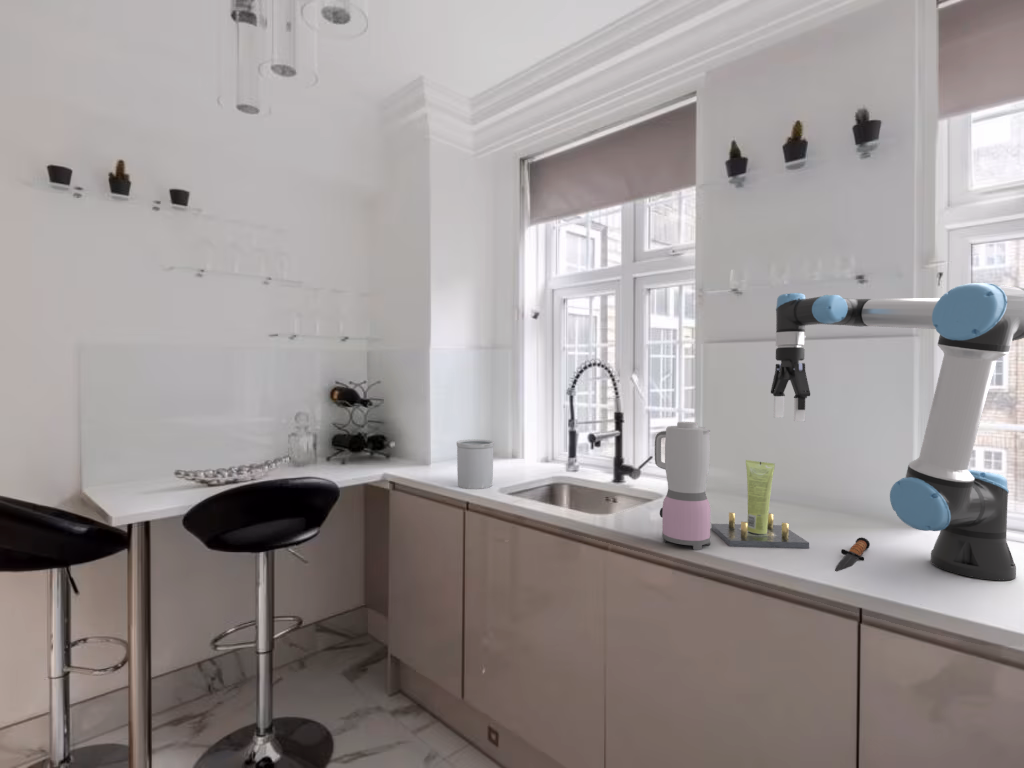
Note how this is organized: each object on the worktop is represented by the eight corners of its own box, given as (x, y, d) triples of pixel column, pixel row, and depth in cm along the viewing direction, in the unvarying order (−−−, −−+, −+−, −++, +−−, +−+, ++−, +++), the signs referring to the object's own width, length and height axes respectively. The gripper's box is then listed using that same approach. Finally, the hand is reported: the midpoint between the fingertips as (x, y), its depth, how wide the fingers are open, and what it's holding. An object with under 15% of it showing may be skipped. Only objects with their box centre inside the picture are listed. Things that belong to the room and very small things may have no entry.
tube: (763, 529, 151) (765, 459, 151) (773, 535, 146) (775, 462, 146) (743, 529, 151) (745, 459, 150) (752, 534, 146) (754, 462, 145)
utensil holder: (492, 489, 207) (493, 444, 207) (454, 489, 208) (454, 443, 207) (494, 482, 222) (495, 439, 222) (458, 481, 222) (458, 439, 222)
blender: (719, 543, 144) (721, 422, 143) (697, 553, 135) (699, 425, 134) (665, 530, 155) (666, 418, 154) (642, 539, 146) (643, 421, 146)
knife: (849, 573, 121) (825, 563, 124) (846, 585, 121) (822, 575, 125) (875, 541, 139) (853, 533, 142) (873, 552, 139) (851, 544, 143)
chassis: (809, 548, 140) (809, 527, 140) (729, 546, 141) (730, 525, 141) (782, 530, 156) (782, 511, 156) (711, 528, 157) (711, 509, 157)
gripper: (825, 344, 146) (823, 423, 146) (784, 349, 171) (783, 416, 171) (796, 344, 146) (795, 423, 147) (760, 349, 171) (758, 416, 172)
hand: (788, 419), depth 159 cm, fingers open, 13 cm apart
